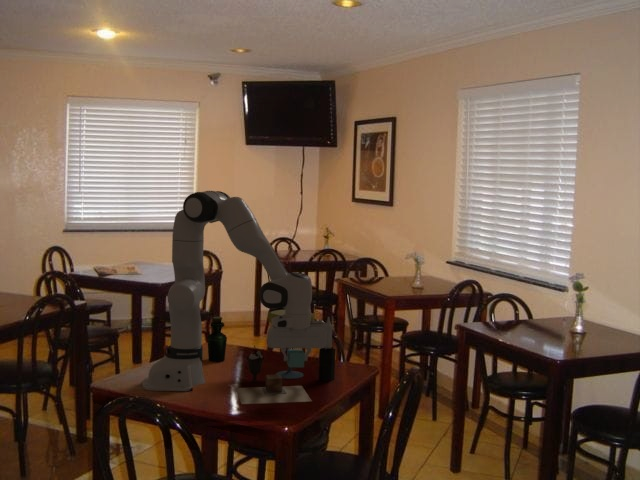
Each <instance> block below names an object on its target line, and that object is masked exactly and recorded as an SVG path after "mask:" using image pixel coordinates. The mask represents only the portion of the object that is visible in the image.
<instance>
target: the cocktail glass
mask: <svg viewBox="0 0 640 480" xmlns="http://www.w3.org/2000/svg"><path fill="white" fill-rule="evenodd" d="M283 314H285V309H284V308H277V309H269V310H268V312H267V320H268V322H269V323H270V324H271V325H272V323H271V319H272V318H274V317H277V316H280V315H283ZM315 317H316V315H315V311H314V310H312V309H311V321H316V320H315V319H316V318H315ZM289 349H292V348H289ZM276 374H280V375H281V377H282V380H297V379H298V380H299V379H302V378H303V377H304V375H305V374H304V373H303V372H300V371H295V370H292V367H289V366H288V368H287V370H282V371H278V372H276V373H275V375H276Z"/></svg>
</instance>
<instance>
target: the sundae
mask: <svg viewBox="0 0 640 480" xmlns="http://www.w3.org/2000/svg"><path fill="white" fill-rule="evenodd" d="M246 359H247V361H248V368H249V373H251V374H252V381H251V382H252V383H256V382H258V381H257V376H258V374H260V372H261V369H262V363H263V360H264V359H265V356H263V352H262V351H260V350H259V349H258V348H256V345H253V349H252V352H251V353H250V354H249V355H248V356H246Z"/></svg>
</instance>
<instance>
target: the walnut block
mask: <svg viewBox="0 0 640 480" xmlns="http://www.w3.org/2000/svg"><path fill="white" fill-rule="evenodd" d="M282 386H283V378H282V377H281V375H280V374H276V373H275V374H266V375H265V387H266V390H267V392H268V393H276V392H282Z"/></svg>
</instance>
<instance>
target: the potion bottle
mask: <svg viewBox="0 0 640 480" xmlns="http://www.w3.org/2000/svg"><path fill="white" fill-rule="evenodd" d="M212 320H213V322H212V321H211V322H210V325H209V326H210V327H211V328H212V330H213V332H211V333H210V334H209V335H207V352H208V353H207V355H208V361H209V362H211V363H222V362H224V361H225V359H226V351H227V350H226V347H227V341H228V337H227V335H226V334H225V333H223V332H222V329H223V328H224V327H225V322H223V321H222V320H223V317H222V316H213V317H212Z"/></svg>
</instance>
